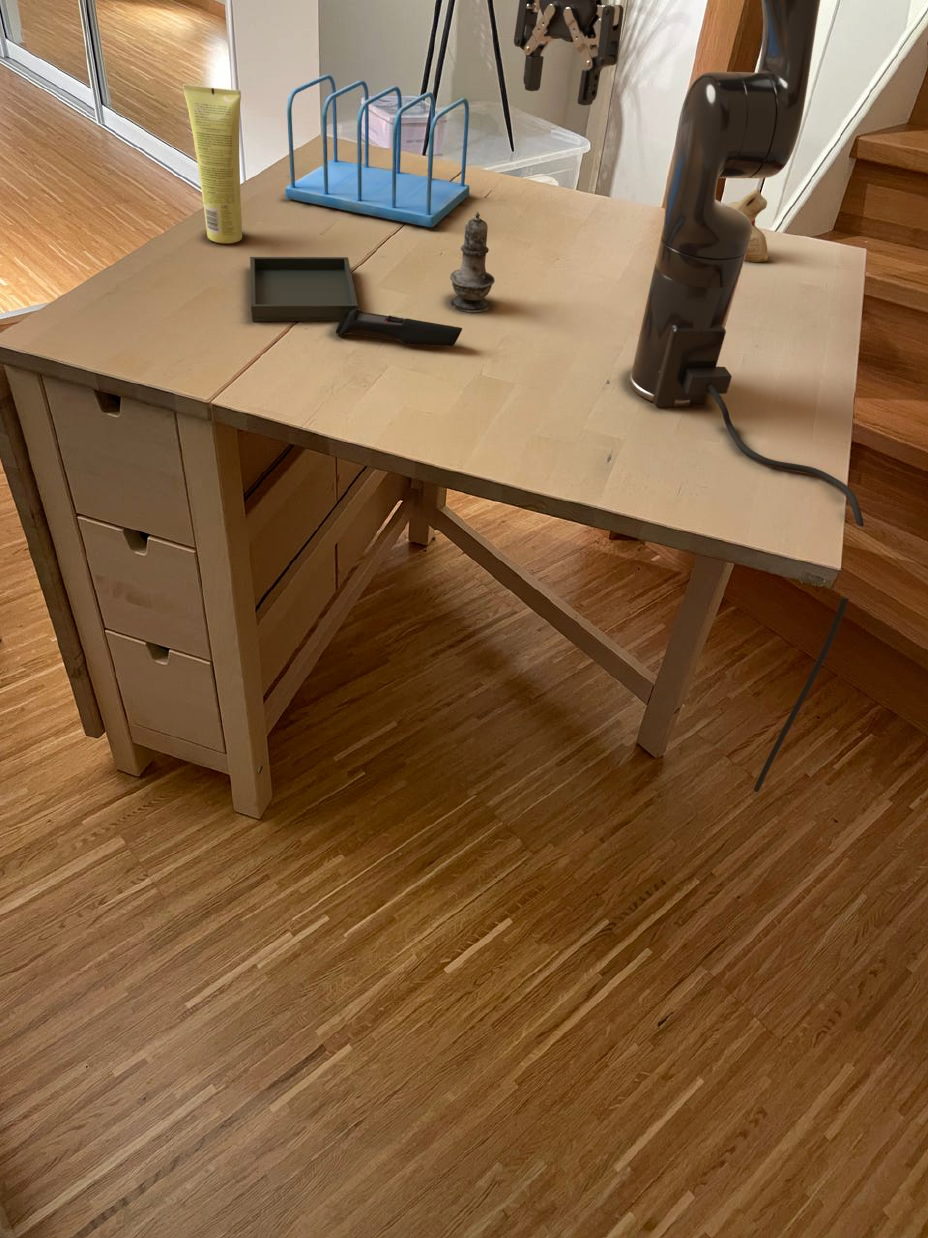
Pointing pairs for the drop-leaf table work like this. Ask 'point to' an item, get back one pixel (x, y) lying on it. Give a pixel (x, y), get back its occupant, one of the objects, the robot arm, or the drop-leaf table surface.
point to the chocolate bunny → (751, 209)
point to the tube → (217, 157)
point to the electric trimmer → (397, 329)
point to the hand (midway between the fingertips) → (558, 97)
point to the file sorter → (377, 169)
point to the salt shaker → (473, 270)
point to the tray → (301, 288)
